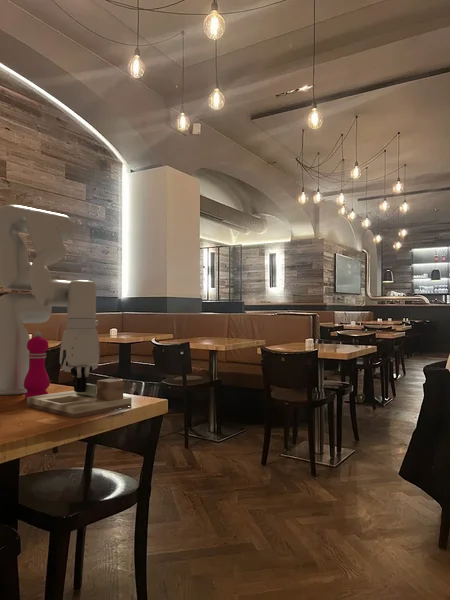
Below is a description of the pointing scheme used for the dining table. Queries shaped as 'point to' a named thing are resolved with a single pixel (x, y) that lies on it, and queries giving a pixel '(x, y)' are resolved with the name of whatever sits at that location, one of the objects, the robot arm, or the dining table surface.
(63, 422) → the dining table surface
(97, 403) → the board
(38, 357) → the pepper mill
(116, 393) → the walnut cube
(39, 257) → the robot arm
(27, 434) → the dining table surface
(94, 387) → the lid
